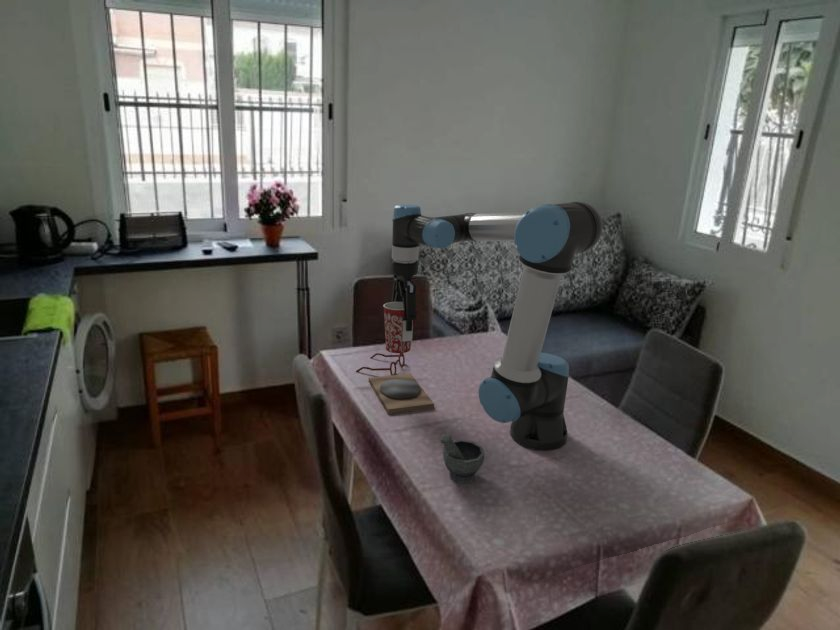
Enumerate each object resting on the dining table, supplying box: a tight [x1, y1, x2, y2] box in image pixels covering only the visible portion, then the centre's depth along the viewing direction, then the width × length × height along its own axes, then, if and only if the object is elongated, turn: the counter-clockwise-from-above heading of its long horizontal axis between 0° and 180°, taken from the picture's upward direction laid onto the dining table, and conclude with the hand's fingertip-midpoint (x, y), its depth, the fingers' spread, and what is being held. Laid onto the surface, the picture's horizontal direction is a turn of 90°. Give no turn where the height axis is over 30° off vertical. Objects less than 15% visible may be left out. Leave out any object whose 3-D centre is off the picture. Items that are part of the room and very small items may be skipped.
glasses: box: [355, 352, 406, 375], centre depth 202 cm, size 13×13×5 cm
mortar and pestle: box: [439, 433, 486, 484], centre depth 142 cm, size 11×9×12 cm
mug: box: [382, 302, 418, 354], centre depth 177 cm, size 13×9×14 cm
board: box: [368, 372, 435, 415], centre depth 183 cm, size 22×14×2 cm, turn 19°
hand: (402, 334), depth 178 cm, fingers closed on mug, 9 cm apart
